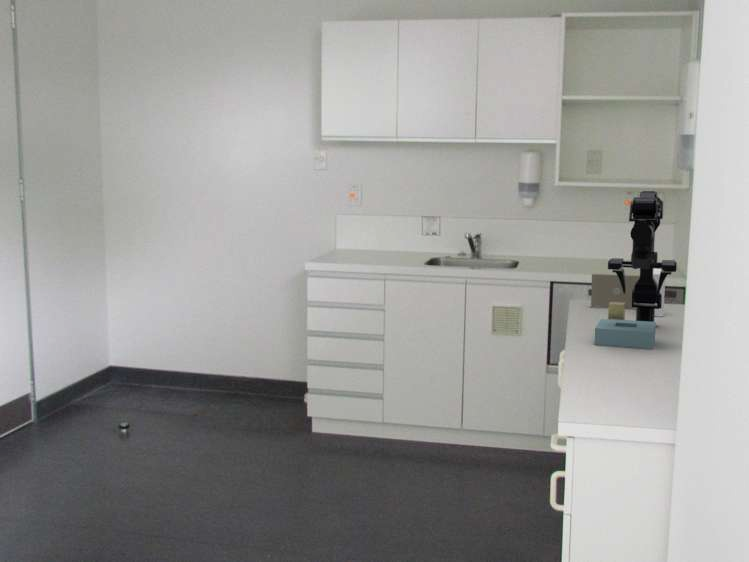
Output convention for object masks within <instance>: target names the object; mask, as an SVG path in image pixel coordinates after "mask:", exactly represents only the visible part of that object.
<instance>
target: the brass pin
mask: <svg viewBox="0 0 749 562" xmlns="http://www.w3.org/2000/svg"><path fill="white" fill-rule="evenodd" d="M607 313H608V314H607V315H608V316H607V319H615V320H626V317H625V316H626V315H625V314H626V310H625V303H624V302H610V303H609V309H608V312H607Z"/></svg>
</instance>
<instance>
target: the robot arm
mask: <svg viewBox="0 0 749 562" xmlns="http://www.w3.org/2000/svg"><path fill="white" fill-rule="evenodd" d="M663 218H664V202H663V200H662V199H660V198H659V197H658V191H655V190H642V191H640V192H639V197H637V196H636V197H633V199H632V200H631V201H630V205H629V216H628V221H629V222H634V224H633V226H632V227H631V230H630V237H631V240H632V251H631V255H630V258H631V260H630V261H628V260H627V261H626V260H624V258H619V257H618V258H617V257H615V258H614V257H612V258H610V259H609V260H608V261H607V270H612V273H615V275H618V278H619V280H620V283H621V286H622V290H623V293H624V294H625V291H626V286H625V269H624V268H628V269H629V268H631V269H632V270H633V269H634V270H637V269H639V276H640V277H639V279H638V280H637V282H636V284H635V286H634V289H632V308H634V307H636V310H635V311H636V312H635V321H648V322H655V317H656V316H655V309H659V308H661V305H662V295H661V294H660V289H661V287H662V284H663V282H664V280H665V281H666V277H668V275H669V276H670V275H672V273H673V272H674V273H675V272H677V269H678V268H677V266H678V265H677V264H678V262H677V261H676V260H675V259H673V260H671V259H662V261H658V251H655V241H656V240H655V238H656V237H655V236H656V231H657V229H658V228H659V227H660V225H661V220H663ZM657 261H658V262H657ZM653 268H656V269H661V272H660V278H659V283H658V284H657V282H656V280H655V279H654V277H653ZM635 302H636V303H640V304H635ZM655 303H656V304H657V305H653V304H655Z"/></svg>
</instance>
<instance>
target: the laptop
mask: <svg viewBox="0 0 749 562" xmlns="http://www.w3.org/2000/svg"><path fill="white" fill-rule="evenodd" d="M639 277H640V275H635V274H634V275H631V274H629V275H628V274H627V275H625V286H626V291H625V294H624V293H623V290H622V286H621V283H620V280H619V278H618V275H617V274H604V273H603V274H598V273H593V274H591V291H590V292H591V295H590V297H591V298H590V309H600V310H601V309H603V310H605V309H606V310H609V303H610V302H624V303H625V311H636V307H634V308H632V289H634V286H635V284H636V282H637V280H638V279H639ZM635 304H640V303H636V302H635Z"/></svg>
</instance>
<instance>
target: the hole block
mask: <svg viewBox="0 0 749 562" xmlns="http://www.w3.org/2000/svg"><path fill="white" fill-rule="evenodd" d="M656 326H657V323H656V321H654V322H648V321H636V320H629V319H628V320H627V319H625V320H615V319H608V318H600V320H599V321H598V323H597V324H596V326H595V327H594V346H602V347H603V346H605V347H616V348H617V347H618V348H630V349H631V348H634V349H643V350H645V349H646V350H654V344H655V341H656Z"/></svg>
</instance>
